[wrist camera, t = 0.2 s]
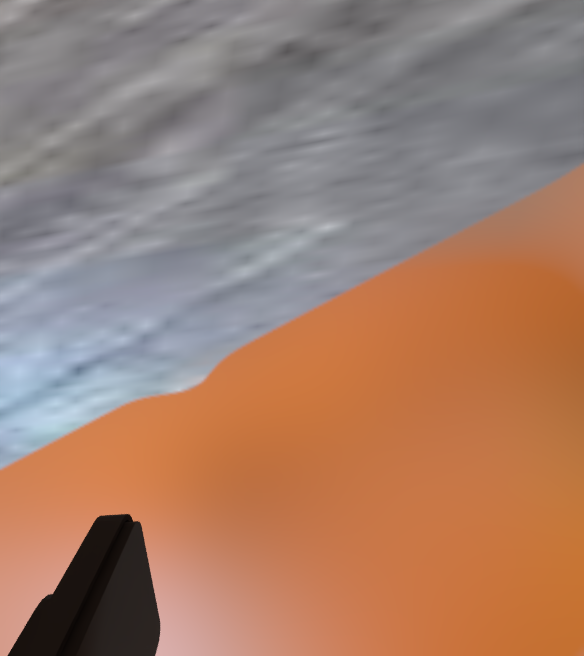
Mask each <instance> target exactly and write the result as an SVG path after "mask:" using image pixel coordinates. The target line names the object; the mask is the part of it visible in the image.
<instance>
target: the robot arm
mask: <svg viewBox="0 0 584 656" xmlns="http://www.w3.org/2000/svg"><path fill="white" fill-rule="evenodd" d="M159 637H160V619H159V614H158V609H157V603H156V599H155V593H154V588H153V584H152V578H151V573H150V568H149V563H148V558H147V552H146V548H145V542H144V537H143V532H142V527H141V524H140V522H138V521H136V522H133V520H132V517H131V516H130V515H129V514H121V515H105V516H99V517H98V518H97V519H96V520H95V522H94V523H93V525H92V527H91V529H90V530H89V532H88V534H87V536H86V537H85V539H84V541H83V542H82V544H81V546H80V548H79V549H78V551H77V553H76V555H75V556H74V558H73V560H72V562H71V563H70V565H69V567H68V569H67V570H66V572H65V574H64V576H63V578H62V579H61V581H60V583H59V584H58V586H57V588H56V590H55V591H54V593H53V594H50V595H47V596H46V597H45V598H44V599H42V601H41V602H40V603H39V605H38V606H37V608H36V609H35V611H34V612H33V614H32V616H31V617H30V619H29V621H28V622H27V624H26V626H25V628H24V629H23V631H22V632H21V634H20V636H19V637H18V639H17V641H16V643H15V644H14V646H13V648H12V649H11V651H10V653H9V654H8V656H155V654H156V650H157V647H158V642H159Z"/></svg>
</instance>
